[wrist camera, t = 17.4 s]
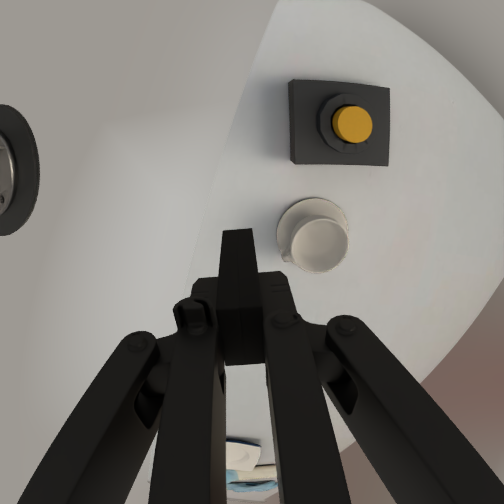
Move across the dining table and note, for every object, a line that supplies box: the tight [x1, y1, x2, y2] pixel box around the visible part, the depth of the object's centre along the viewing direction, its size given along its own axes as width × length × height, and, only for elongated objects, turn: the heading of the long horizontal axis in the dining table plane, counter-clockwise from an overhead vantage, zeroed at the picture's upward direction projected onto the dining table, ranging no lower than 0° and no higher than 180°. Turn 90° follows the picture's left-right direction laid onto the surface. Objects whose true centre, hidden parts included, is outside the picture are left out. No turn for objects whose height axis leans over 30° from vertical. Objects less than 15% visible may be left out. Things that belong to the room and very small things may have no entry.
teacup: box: [277, 199, 349, 273], centre depth 38 cm, size 10×10×5 cm
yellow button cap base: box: [288, 79, 390, 166], centre depth 31 cm, size 12×10×5 cm
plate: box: [226, 440, 261, 471], centre depth 66 cm, size 20×20×3 cm
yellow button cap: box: [332, 106, 372, 143], centre depth 28 cm, size 4×4×2 cm
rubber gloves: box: [226, 465, 278, 492], centre depth 75 cm, size 27×33×6 cm
